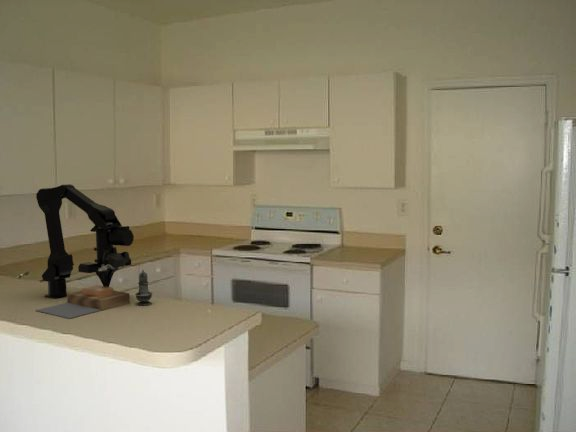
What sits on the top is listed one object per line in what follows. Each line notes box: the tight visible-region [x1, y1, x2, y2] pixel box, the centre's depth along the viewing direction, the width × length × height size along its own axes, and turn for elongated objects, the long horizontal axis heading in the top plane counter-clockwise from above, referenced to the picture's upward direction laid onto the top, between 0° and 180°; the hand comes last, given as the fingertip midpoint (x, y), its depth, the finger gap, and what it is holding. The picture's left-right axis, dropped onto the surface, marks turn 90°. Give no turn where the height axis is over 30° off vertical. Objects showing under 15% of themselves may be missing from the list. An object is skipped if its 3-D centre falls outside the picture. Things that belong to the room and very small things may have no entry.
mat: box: [35, 302, 102, 320], centre depth 191 cm, size 18×12×1 cm, turn 56°
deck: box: [66, 289, 131, 312], centre depth 201 cm, size 18×12×4 cm, turn 56°
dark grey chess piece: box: [134, 269, 153, 307], centre depth 199 cm, size 6×6×12 cm
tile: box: [81, 284, 114, 297], centre depth 200 cm, size 9×6×2 cm, turn 56°
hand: (106, 288), depth 203 cm, fingers closed
